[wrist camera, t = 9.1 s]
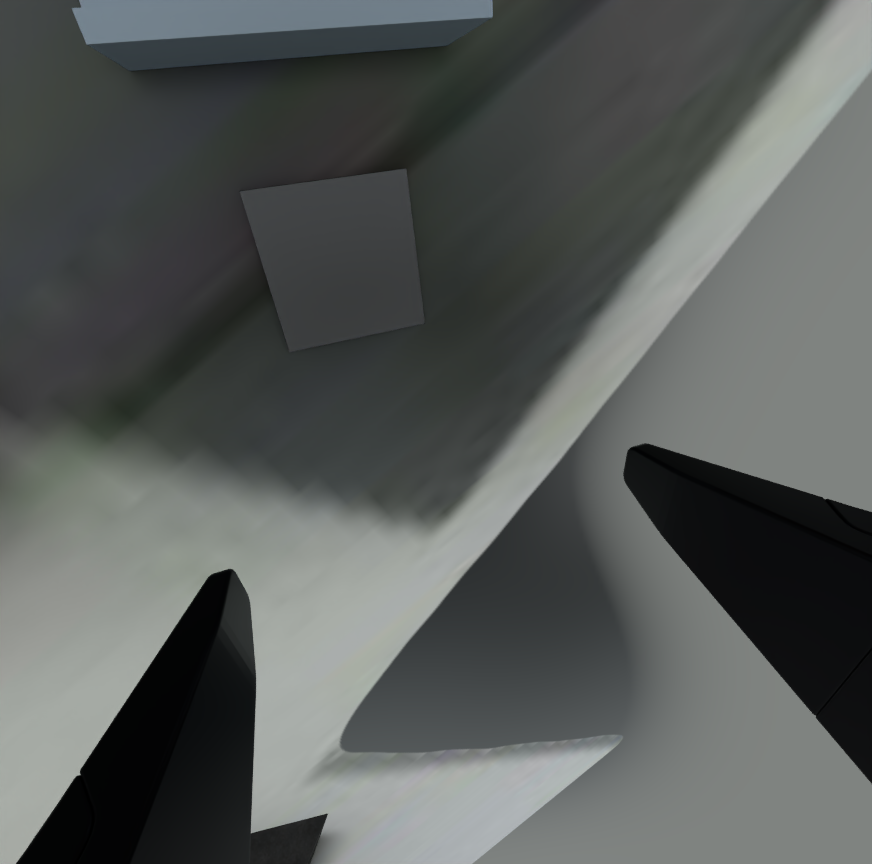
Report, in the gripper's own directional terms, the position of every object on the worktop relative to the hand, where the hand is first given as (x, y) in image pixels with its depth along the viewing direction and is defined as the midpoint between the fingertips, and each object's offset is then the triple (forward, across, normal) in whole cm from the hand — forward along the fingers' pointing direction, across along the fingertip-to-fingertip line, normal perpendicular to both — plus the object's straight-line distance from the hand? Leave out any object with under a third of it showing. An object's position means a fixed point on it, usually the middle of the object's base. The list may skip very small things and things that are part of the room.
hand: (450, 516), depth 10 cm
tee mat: (+12, 0, -3) cm, 12 cm away
